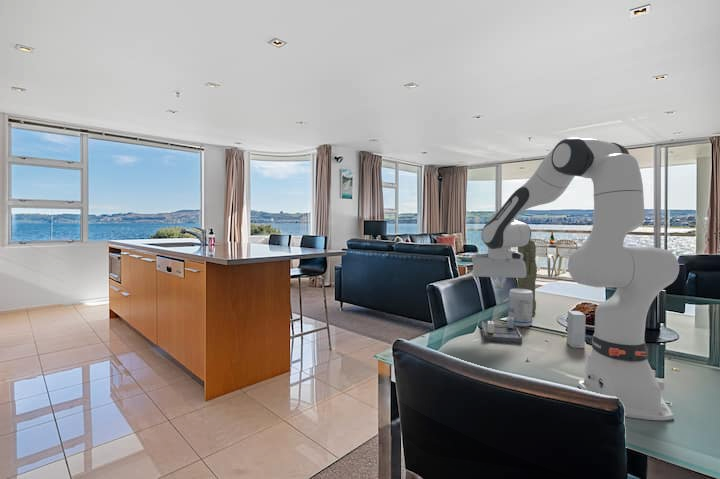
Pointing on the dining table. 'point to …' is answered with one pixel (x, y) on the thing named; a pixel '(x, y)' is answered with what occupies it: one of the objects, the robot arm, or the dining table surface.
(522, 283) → the green cactus
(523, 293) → the supplement tub
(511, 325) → the fader slate
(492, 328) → the fader ivory
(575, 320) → the skincare box
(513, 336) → the grey tray
